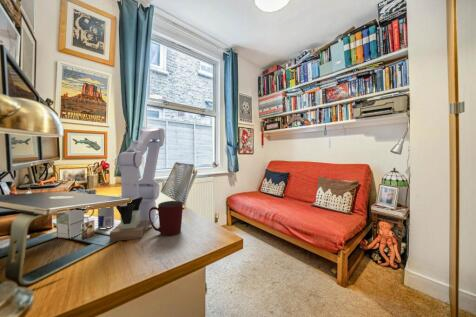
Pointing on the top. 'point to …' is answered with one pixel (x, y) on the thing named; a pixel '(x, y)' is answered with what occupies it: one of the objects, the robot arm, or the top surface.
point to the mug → (169, 217)
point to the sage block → (132, 221)
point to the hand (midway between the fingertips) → (130, 220)
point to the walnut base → (129, 232)
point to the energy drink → (105, 217)
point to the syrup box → (69, 223)
